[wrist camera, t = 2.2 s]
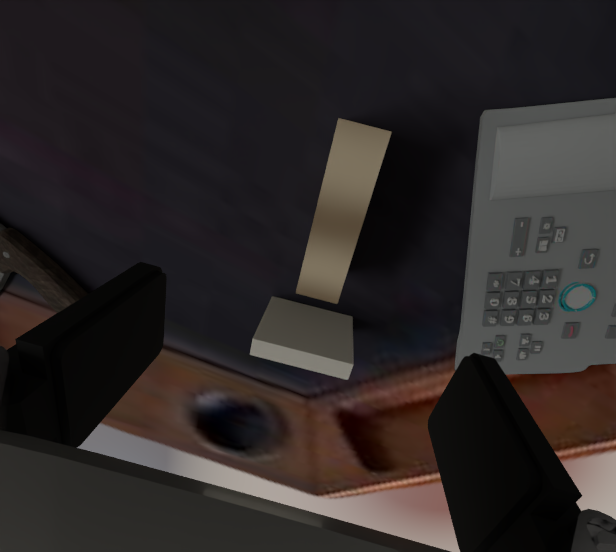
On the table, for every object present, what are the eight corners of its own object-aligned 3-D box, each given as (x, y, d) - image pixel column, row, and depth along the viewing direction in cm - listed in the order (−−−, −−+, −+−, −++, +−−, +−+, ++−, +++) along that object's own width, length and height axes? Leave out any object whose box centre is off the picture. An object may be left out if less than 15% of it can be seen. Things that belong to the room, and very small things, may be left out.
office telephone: (487, 109, 21) (869, 61, 18) (473, 112, 23) (809, 69, 20) (461, 385, 30) (711, 384, 27) (452, 366, 33) (682, 364, 30)
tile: (272, 295, 31) (252, 338, 25) (352, 316, 31) (353, 364, 25) (269, 310, 32) (249, 356, 25) (347, 330, 32) (347, 381, 25)
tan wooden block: (340, 120, 24) (338, 118, 19) (381, 130, 24) (391, 131, 19) (305, 262, 29) (295, 293, 24) (339, 271, 29) (337, 304, 24)
